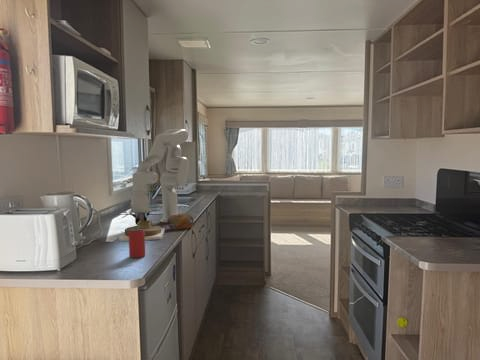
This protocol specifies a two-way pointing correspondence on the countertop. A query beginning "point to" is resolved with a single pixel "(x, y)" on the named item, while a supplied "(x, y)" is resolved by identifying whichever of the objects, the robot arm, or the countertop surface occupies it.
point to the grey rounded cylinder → (141, 216)
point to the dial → (145, 228)
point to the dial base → (150, 237)
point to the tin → (180, 221)
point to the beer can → (136, 243)
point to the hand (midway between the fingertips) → (141, 224)
